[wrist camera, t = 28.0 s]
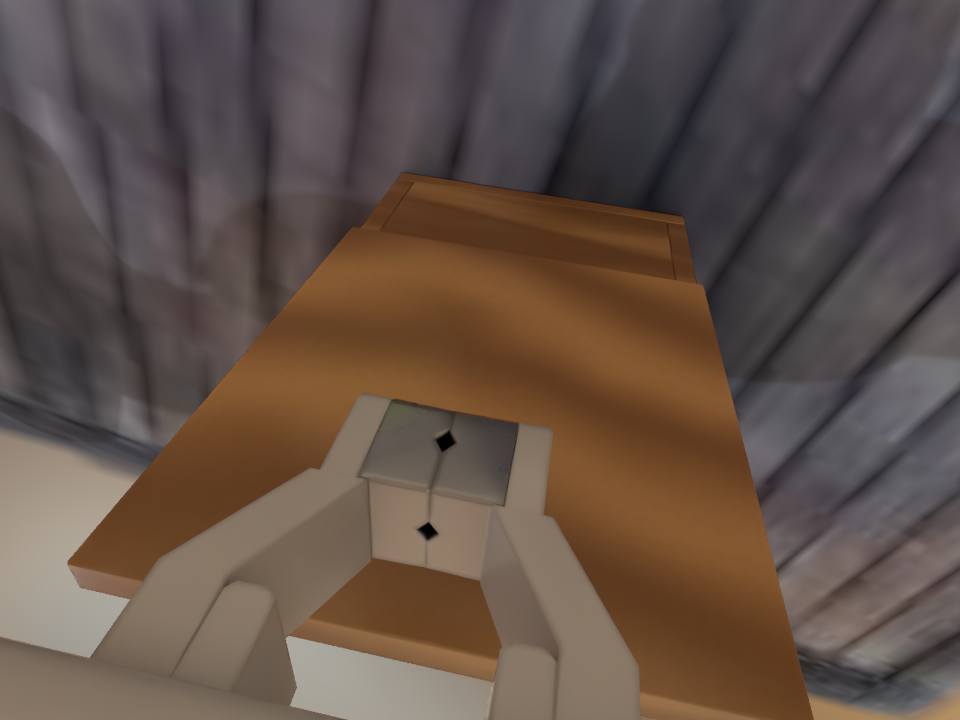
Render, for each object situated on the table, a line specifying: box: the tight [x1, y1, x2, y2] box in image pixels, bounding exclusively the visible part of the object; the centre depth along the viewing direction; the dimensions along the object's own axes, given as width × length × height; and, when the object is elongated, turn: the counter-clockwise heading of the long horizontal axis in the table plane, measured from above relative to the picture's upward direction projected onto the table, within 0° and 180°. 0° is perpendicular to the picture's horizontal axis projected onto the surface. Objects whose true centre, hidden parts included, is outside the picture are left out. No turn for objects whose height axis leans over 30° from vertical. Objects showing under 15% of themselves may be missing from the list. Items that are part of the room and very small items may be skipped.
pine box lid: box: [67, 227, 814, 720], centre depth 16 cm, size 14×13×1 cm
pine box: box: [361, 173, 697, 284], centre depth 28 cm, size 14×13×6 cm
